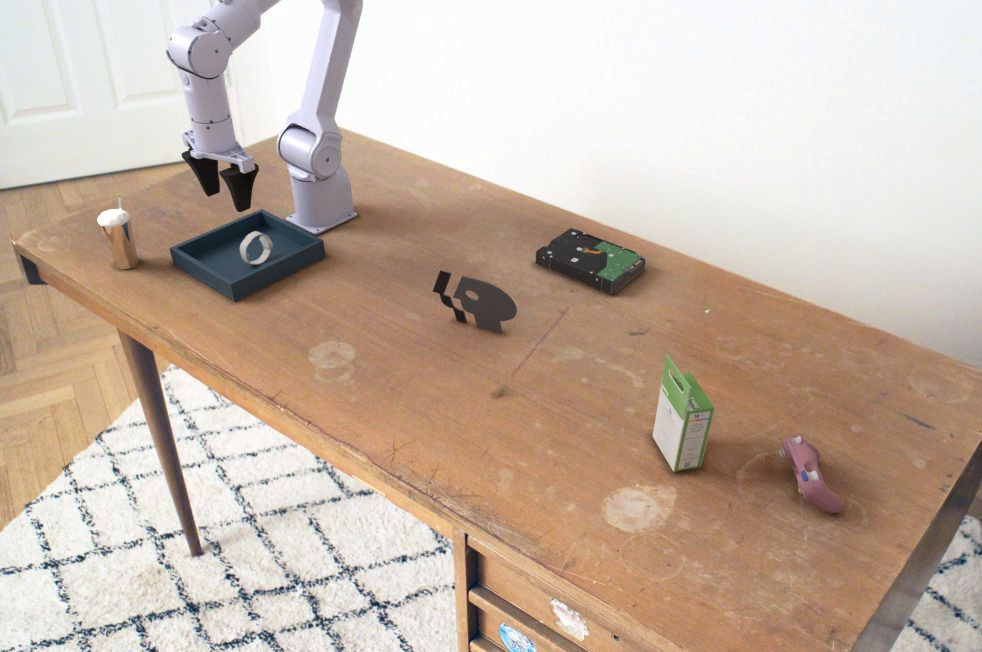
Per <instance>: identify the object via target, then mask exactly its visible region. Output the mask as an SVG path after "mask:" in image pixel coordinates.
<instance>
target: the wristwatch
mask: <svg viewBox="0 0 982 652" xmlns="http://www.w3.org/2000/svg"><path fill="white" fill-rule="evenodd" d="M259 235H260V239H259V240H260V241H261V243H262V245H263V249H264V251H263V253H262V255H261V256H260V258H258V259H257V260H255V261H249V260H248V259H249V255H248V253H247V247H248V245H249V244H250V243H251V241H252V240H253V239H254V238H255V237H257V236H259ZM265 248H266V249H265ZM272 249H273V243H272V241H271V239H270V238H269V237H268V236H267V235H265V234H262V233H260V232H258V231H254V232H252V233H250V234H248V235H247V236H246V237H245V239H244V240H243V241H242V243H241V245H240V254H241V257H242V259H243V261H244V262H247V263H249V264H251V265H260V264H262V263H264V262H265V261H266V260H267V259H268V257H269V255H270V254H269V253H271V252H272Z"/></svg>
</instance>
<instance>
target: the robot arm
mask: <svg viewBox="0 0 982 652" xmlns="http://www.w3.org/2000/svg"><path fill="white" fill-rule="evenodd" d="M281 1H282V0H218V2H217V3H216V4H215V5H214V6H212V7H211V8H210V9H208V10H207V11H206V12H205V13H204V14H203V15H202V16H197V17H195V18H194V20H193V23H192V25H186V26H185V25H182V26H180V27H178V28H176V29H175V30H174V31H173V32H172V33H171V35H170V37H169V41H168V47H167V49H166V50H165V54H166V57H167V58H168V60H169V61H170V62H171V64H172V65H173V66H174V67H176V69H177V70H178V71H177V72H178V74H179V79H180V81H181V86H182V90H183V95H184V98H185V103H186V108H187V112H188V117H189V122H190V125H191V129H190V130H186V131H183V132H182V133H181V138H182V142H183V145H184V146H185V147H188V150H185V151H183V152H181V158H182V159H183V160H184V161H185V162H186V163H187V165H188V167H190V169H191V171H192V172H193V173H194V175H195V177H196V178H197V180H198V182H199V184H200V186H201V188H202V191H203V192H204V194H205V196H207V197H208V198H210V197H212V196H214V195H217V194H219V193H221V182H220V177H221V179H223V181H224V183H225V184H226V187H227V188H228V191H229V194H230V196H231V200H232V203H233V206H234V208H235V210H236V212H238V213H242V212H245V211H248V210H250V209H251V207H252V195H253V188H254V183H255V181H256V177H257V175H258V174H259V171H260V167H259V166H260V165H259V164H258V163H255V161H254V156H252V155H249V153H247V151H246V150H245V149H244V148H243V146H242V145H241V144H240V142H239V141H238V140H237V139H236V133H235V128H234V121H233V117H232V114H231V113H232V111H231V108H230V107H231V106H230V103H229V98H228V93H227V86H226V80H225V77H224V73H225V71H226V70H227V67H228V65H229V61H230V57H231V56H232V55H233V52H234V51H236V49H238V48H239V47H240V46H241V45H242V44H243V43H245V42H246V41H247V40H248V39H249V38H250V37H252V36H253V35H254V34H255V33H256V32H257V31H258V30H259V29H260V28H261V24H262V15H263V14H265V13H267V11H269V10H270V9H271V8H273V7H275V6H276V5H277V4H278V3H280V2H281ZM320 1H321V3H322V5H323V7H324V9H323V13H322V16H321V20H320V25H319V29H318V33H317V37H316V42H315V44H314V50H313V54H312V57H311V61H310V66H309V70H308V75H307V78H306V82H305V86H304V91H303V95H302V99H301V102H300V106H299V108H297V109H296V110H294V111H293V112H291V113H290V114H288V116H286V117H287V118H286V121H285V125H284V127H283V128H282V129H281V131H280V132H279V134H278V136H277V139H276V144H275V145H276V146H275V147H276V151H277V154H278V157H279V158H280V159H281V160H282V161H284V162H285V163H286V169H287V170H288V172H289V180H290V186H291V192H292V198H293V205H294V211H295V212H294V213H292V214H290V215H288V216H286V217H285V221H287V222H289V223H291V224H293V225H294V226H296V227H298V228H300V229H302V230H304V231H306V232H308V233H310V234H312V235H314V236H318V235H320V234H321V233H324V232H325V231H328V230H330V229H332V228H335V227H337V226H339V225H341V224H343V223H345V222H347V221H349V220H352V219H354V218H356V217H357V216H358V213H357V212H356V211H355V210H354V201H353V192H352V182H351V178H350V175H349V173H348V171H347V170H346V168H345V167H344V166H343V165H342V164H341V162H342V150H341V149H342V141H343V137H344V136H343V134H342V131H341V129H340V128H339V126H338V124H337V121H336V119H335V117H336V113H337V111H338V107H339V102H340V100H341V99H340V98H341V94H342V91H343V86H344V82H345V79H346V75H347V71H348V67H349V63H350V59H351V55H352V52H353V48H354V44H355V40H356V36H357V32H358V29H359V24H360V21H361V16H362V12H363V7H364V0H320ZM219 161H220V162H225V163H227V164H229V165H230V167H228V168H225V169H222V170H219Z"/></svg>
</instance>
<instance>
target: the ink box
mask: <svg viewBox="0 0 982 652" xmlns="http://www.w3.org/2000/svg"><path fill="white" fill-rule="evenodd" d="M671 372H673V373H674V374H671ZM715 410H716V407H715V405H714V404H713V403H712V401H711V400H710V399H709V397H708V396H707V394H706V393H705V391H704V389H703V388H702V387H701V386H700V383H699V382H698V380H696V378H695V376H694V375H693V373H692V372H691V371H690V372H689V371H688V372H681V371H680V370H679V368H678V367H677V365H676V364H675V363H674V361H673V359H672V358H671V357H670V356H669V354H668V353H665V358H664V365H663V372H662V378H661V383H660V390H659V395H658V402H657V407H656V414H655V419H654V426H653V431H652V439H653V440H654V441H655V443H656V445H657V446H658V448H659V451H660V452H661V454H662V455H663V457H664V458H665V460H666V462H667V463H668V465H669V467H670V469H671V470H672V472H673V473H677V472H681V471H686V470H695V469H699V468H702V464H703V462H704V461H703V459H704V455H705V452H706V447H707V444H708V439H709V435H710V431H711V426H712V422H713V418H714V414H715Z"/></svg>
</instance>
